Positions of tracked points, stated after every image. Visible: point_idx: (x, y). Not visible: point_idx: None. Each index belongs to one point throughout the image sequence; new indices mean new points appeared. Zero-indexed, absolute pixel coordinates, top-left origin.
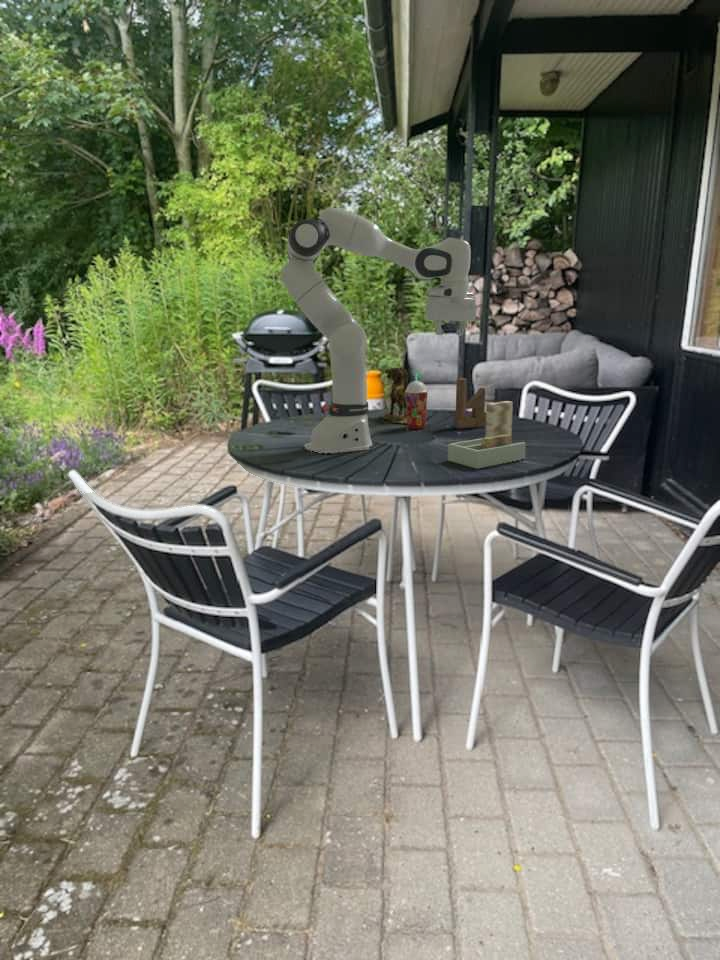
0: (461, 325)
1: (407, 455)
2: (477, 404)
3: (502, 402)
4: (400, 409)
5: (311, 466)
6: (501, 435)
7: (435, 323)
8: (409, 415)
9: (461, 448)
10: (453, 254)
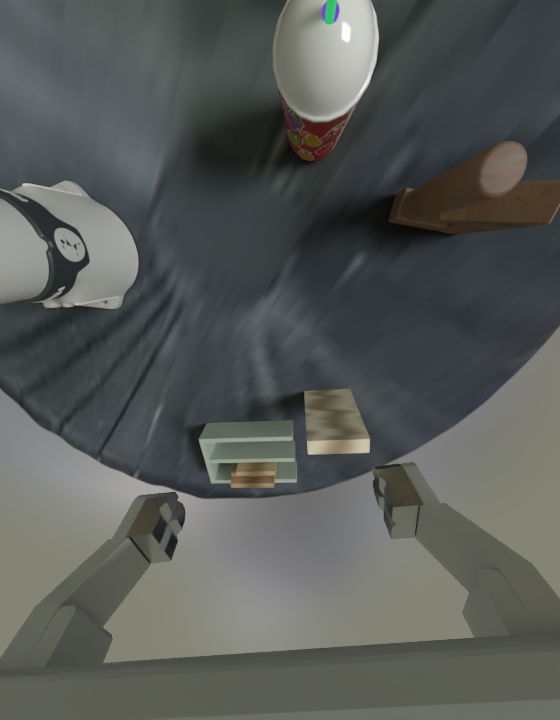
0: (478, 566)
1: (168, 373)
2: (476, 225)
3: (345, 447)
4: None
5: (18, 356)
6: (270, 473)
7: (43, 624)
8: (285, 123)
9: (205, 459)
10: None
